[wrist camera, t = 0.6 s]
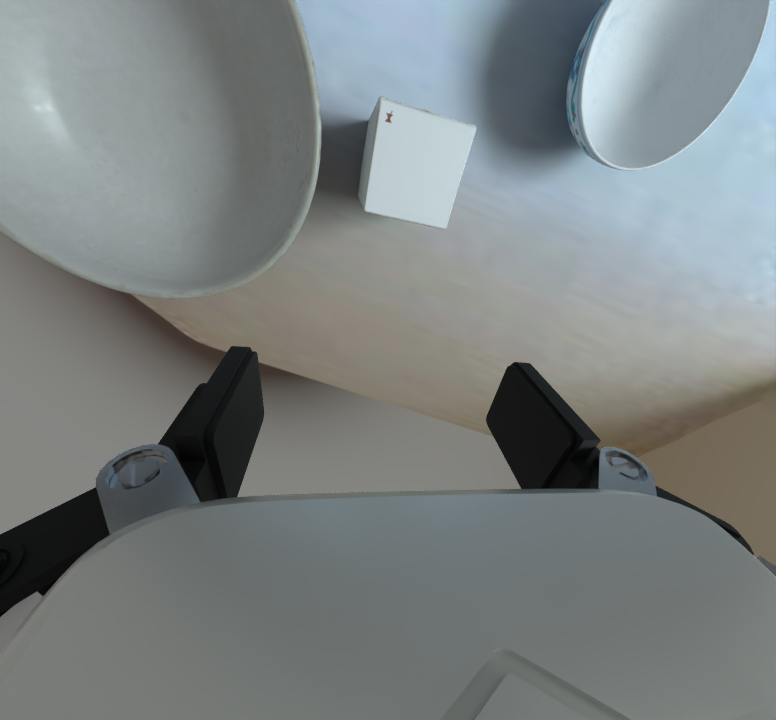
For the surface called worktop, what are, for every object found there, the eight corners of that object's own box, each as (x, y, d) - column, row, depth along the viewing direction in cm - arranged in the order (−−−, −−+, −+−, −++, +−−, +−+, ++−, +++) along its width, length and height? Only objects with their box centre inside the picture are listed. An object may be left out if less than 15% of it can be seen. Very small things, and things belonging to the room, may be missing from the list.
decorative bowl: (379, 177, 33) (392, 180, 23) (204, 303, 38) (153, 351, 28) (160, -235, 19) (-45, -677, 9) (-63, 51, 25) (-347, -30, 15)
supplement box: (356, 198, 34) (359, 211, 23) (368, 117, 30) (378, 90, 20) (417, 213, 35) (446, 232, 25) (436, 138, 32) (479, 123, 21)
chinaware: (697, -56, 26) (811, -129, 20) (661, 144, 34) (733, 139, 28) (531, 9, 27) (588, -41, 21) (534, 188, 35) (576, 193, 29)
